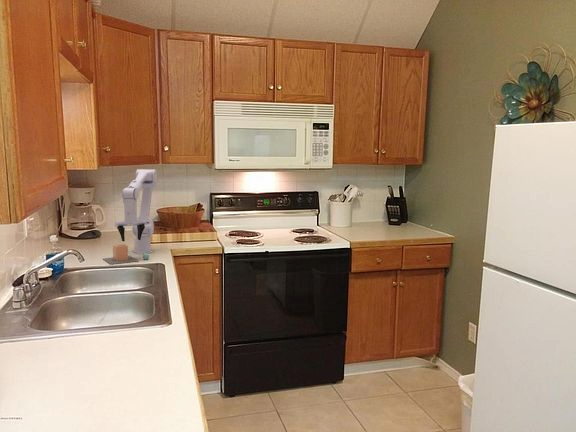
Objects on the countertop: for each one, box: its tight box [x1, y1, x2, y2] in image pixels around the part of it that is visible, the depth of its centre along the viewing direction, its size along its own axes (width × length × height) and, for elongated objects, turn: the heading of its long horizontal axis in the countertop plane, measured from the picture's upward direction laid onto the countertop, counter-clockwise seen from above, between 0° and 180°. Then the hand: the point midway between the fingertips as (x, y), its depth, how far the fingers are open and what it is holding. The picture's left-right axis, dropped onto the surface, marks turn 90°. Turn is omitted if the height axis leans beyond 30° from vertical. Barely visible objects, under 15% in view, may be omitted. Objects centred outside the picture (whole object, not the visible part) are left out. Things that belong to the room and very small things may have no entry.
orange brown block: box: [112, 243, 129, 261], centre depth 218 cm, size 5×5×7 cm
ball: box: [141, 253, 150, 261], centre depth 222 cm, size 3×3×3 cm
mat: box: [102, 255, 139, 265], centre depth 219 cm, size 13×13×1 cm
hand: (131, 240), depth 221 cm, fingers open, 7 cm apart
